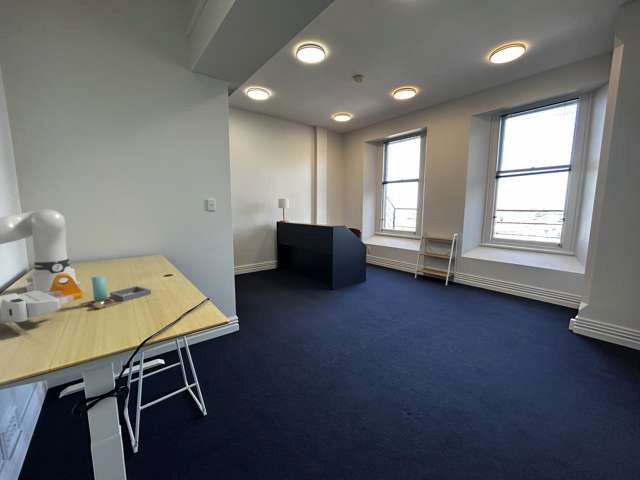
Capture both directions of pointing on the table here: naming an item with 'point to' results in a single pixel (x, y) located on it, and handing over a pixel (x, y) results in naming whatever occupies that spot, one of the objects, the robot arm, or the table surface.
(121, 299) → the tray
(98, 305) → the bench dog
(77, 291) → the bracket
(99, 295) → the dowel
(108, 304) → the jig plate
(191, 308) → the table surface
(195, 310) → the table surface
